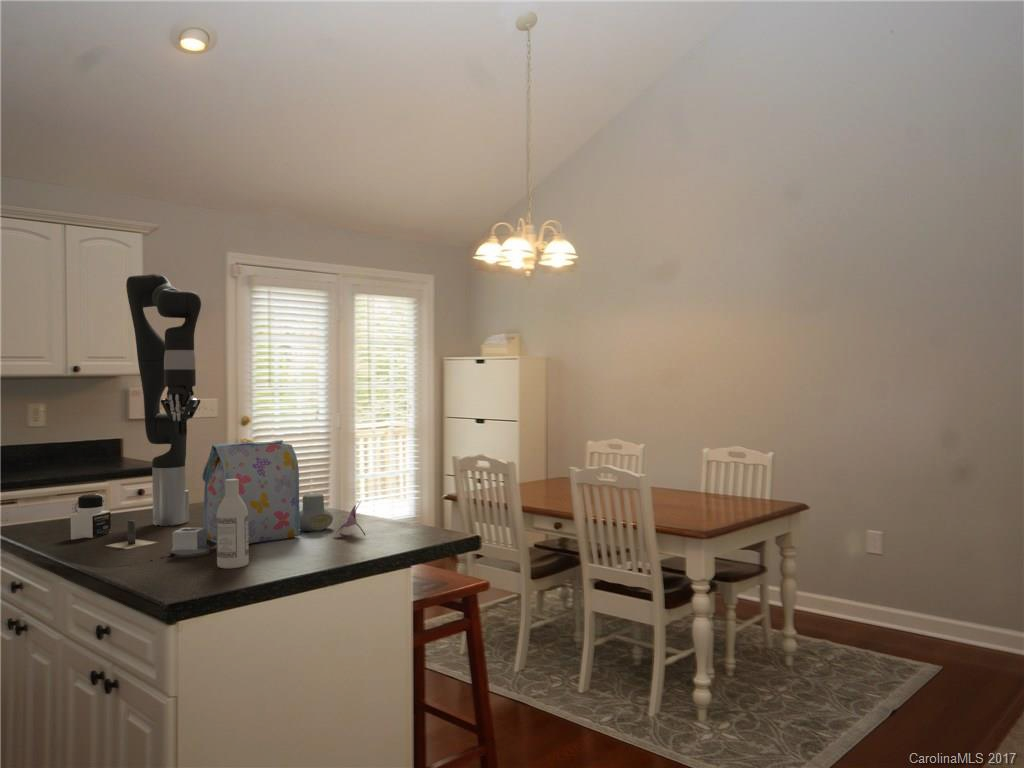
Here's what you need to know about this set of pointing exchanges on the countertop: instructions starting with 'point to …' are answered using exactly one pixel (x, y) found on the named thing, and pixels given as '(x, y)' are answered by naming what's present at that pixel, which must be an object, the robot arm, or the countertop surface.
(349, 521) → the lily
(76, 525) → the medicine bottle
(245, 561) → the bath foam
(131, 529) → the stand
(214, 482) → the lunch bag
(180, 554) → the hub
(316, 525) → the air freshener
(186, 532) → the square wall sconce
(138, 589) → the countertop surface
